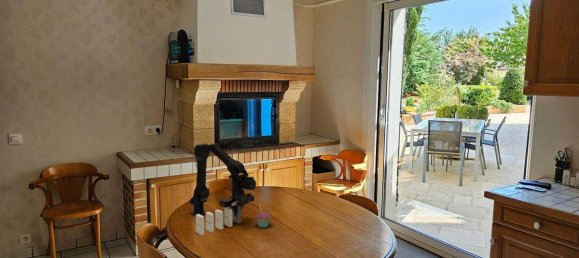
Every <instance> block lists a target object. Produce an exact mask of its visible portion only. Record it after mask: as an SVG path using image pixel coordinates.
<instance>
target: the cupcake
mask: <svg viewBox="0 0 579 258" xmlns="http://www.w3.org/2000/svg"><path fill="white" fill-rule="evenodd" d="M258 205H259V210H260V212H258V213H257V214H256V215H254V220H255V221H256V222H257V225H258V227H259V228H268V227H269V224H270V221H272V219H273V217H272V214H270V213H269V212H267V211H262V205H261V204H258Z"/></svg>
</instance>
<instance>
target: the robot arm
mask: <svg viewBox="0 0 579 258" xmlns="http://www.w3.org/2000/svg"><path fill="white" fill-rule="evenodd" d="M210 152H211V153H212V154H214V155H215V157H216V158H217V159H218V160H220V161H221V162H222V163H223V164H224V165H225V166H226V169H227V171H228V172H229V173H230V174H229V176H228V177H227V178H228V179H230V180H231V188H230V189H229V191H230V192H231V196H230V199H228V198H223V199H220V200H219V202H218V205H219V206H220V207H222V208H227V207H228V208H230V209H232V215H233V214H234V216H235V217H236V216H237V207H238V205H239V206H241V212H242V210H243V208H244V206H245V205H249V203H252V202H255V196H254V195H253V194H252V193H251V192H250V193H245V190H248V191H254V190H255V189H256V188H257V181H256V180H255V177H254V176H249V173H248V171H247V170H246V168H245V164H243V163H242V162H241V161H239V160H236V159H234V158H232V157H231V156H230V155H229V154H228V153H227V152H226V151H225V150H224V149H223V148H221V146H220V145H219V144H218V143H211V144H208V143H201V144H196V145H195V146H194V148H193V153H194V157H195V159H196V160H197V161H196V162H197V163H196V186H195V188H194V189H193V192H192V193H193V194H192V197H190V198H189V200H188V202H189V205H192V208H193V209H192V211H191V212H190V214H191V215H193V216H195V217H196V215H197V214H200V215H202V216H204V215H206V212H207V211H205V203H207V202H208V199H209V197H210V188H208V186H207V185H206V184H207V160H208V158H209V157H210ZM236 204H237V205H236Z"/></svg>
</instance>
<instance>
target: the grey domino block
mask: <svg viewBox="0 0 579 258" xmlns="http://www.w3.org/2000/svg"><path fill="white" fill-rule="evenodd" d="M236 205H237V204H236ZM232 222H235V223H237V224H241V223H242V211H241V206H239V205H238V207H237V216H236V217H235V216H234V214H233V213H232Z"/></svg>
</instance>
